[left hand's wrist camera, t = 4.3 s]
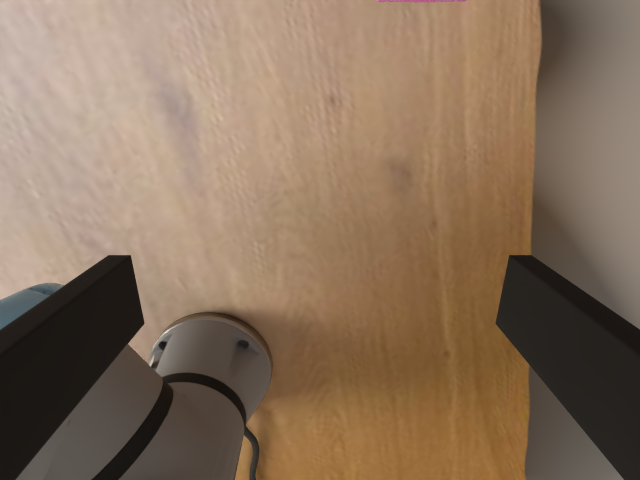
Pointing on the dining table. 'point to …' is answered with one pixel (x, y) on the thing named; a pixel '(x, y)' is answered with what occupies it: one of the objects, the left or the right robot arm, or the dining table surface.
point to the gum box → (420, 0)
